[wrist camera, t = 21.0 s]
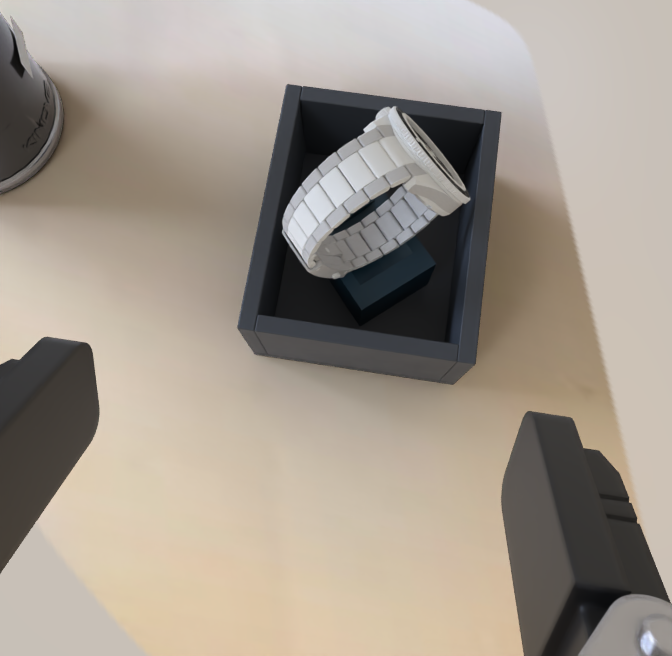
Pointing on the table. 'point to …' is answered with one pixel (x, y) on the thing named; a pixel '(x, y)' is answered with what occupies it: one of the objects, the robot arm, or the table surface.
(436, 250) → the box
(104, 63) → the table surface
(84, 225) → the table surface
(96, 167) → the table surface
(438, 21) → the table surface
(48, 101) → the robot arm
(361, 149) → the watch
